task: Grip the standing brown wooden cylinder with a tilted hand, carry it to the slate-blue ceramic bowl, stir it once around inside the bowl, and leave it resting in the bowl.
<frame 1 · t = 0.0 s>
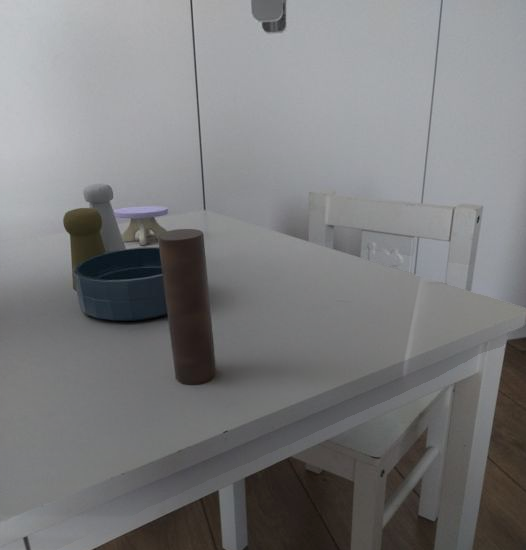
hand: (271, 27, 38), 29 cm above the table, tool pointing down, fingers open, 8 cm apart
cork: (94, 286, 84), on the table
toy table: (145, 240, 107), on the table
salt shaker: (110, 269, 91), on the table
brown wooden cylinder: (196, 375, 56), on the table
bowl: (140, 302, 76), on the table
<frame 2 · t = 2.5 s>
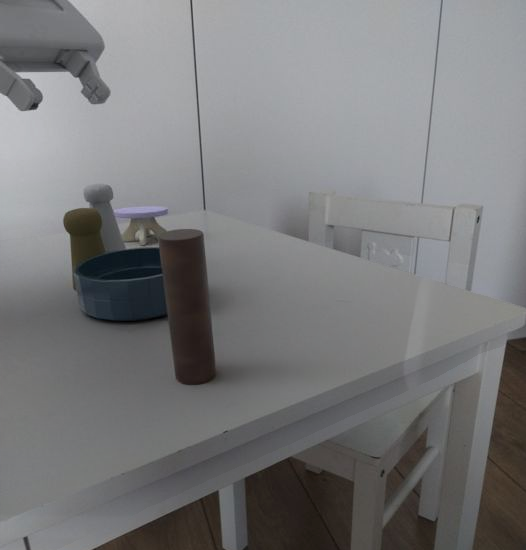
hand: (71, 102, 49), 25 cm above the table, tool tilted 40°, fingers open, 8 cm apart
nothing on the table moved.
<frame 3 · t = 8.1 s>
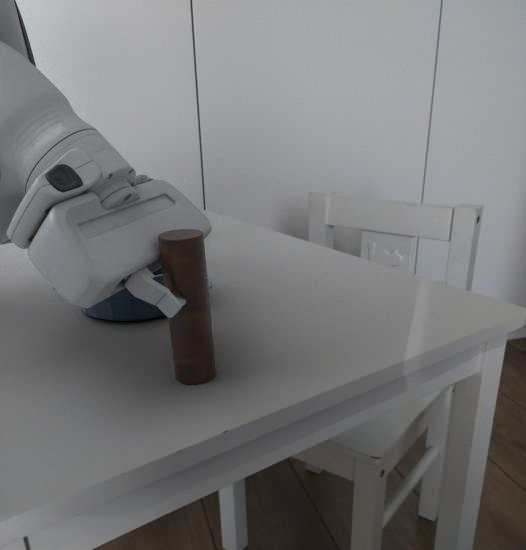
hand: (193, 301, 52), 8 cm above the table, tool tilted 45°, fingers closed on brown wooden cylinder, 4 cm apart
brown wooden cylinder: (196, 375, 56), on the table, touching gripper
everything else where it was.
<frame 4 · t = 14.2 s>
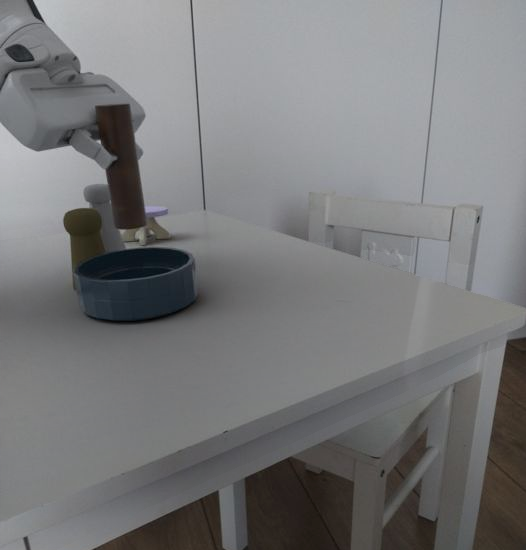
hand: (125, 161, 68), 18 cm above the table, tool tilted 45°, fingers closed on brown wooden cylinder, 4 cm apart
brown wooden cylinder: (131, 225, 71), point 10 cm above the table, touching gripper
everything else where it was.
when the fingers open (8 cm above the table, at t = 20.1 s): brown wooden cylinder stays where it is, resting on bowl.
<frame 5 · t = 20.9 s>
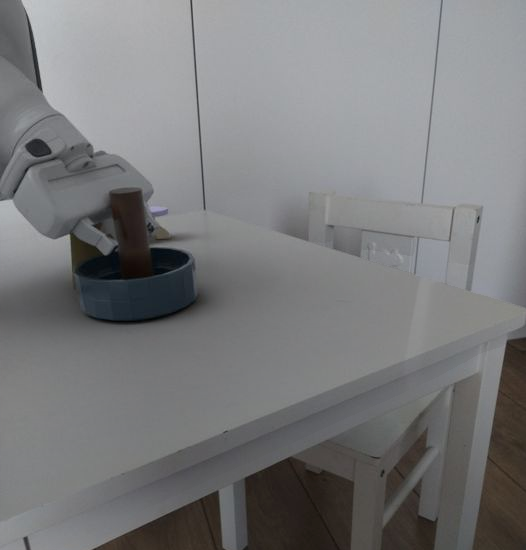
hand: (135, 240, 72), 8 cm above the table, tool tilted 45°, fingers open, 8 cm apart
brown wooden cylinder: (141, 298, 76), point 1 cm above the table, touching bowl
everything else where it was.
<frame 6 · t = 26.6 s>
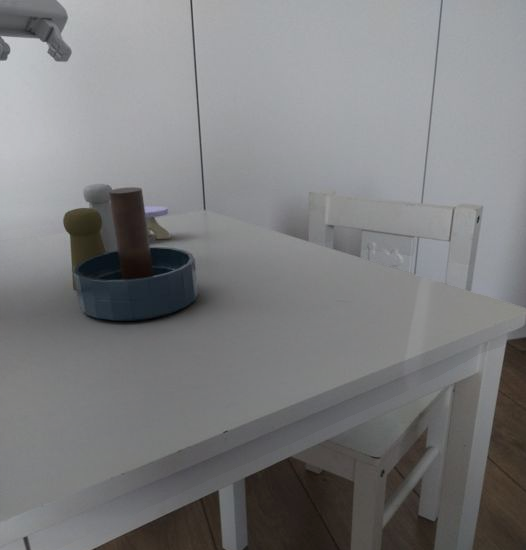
hand: (36, 56, 61), 29 cm above the table, tool tilted 45°, fingers open, 8 cm apart
nothing on the table moved.
at the end: brown wooden cylinder inside the target area in the bowl (0.1 cm from its centre), point 0.6 cm above the bowl's base; brown wooden cylinder moved 23.7 cm from its start; the gripper is holding nothing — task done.
